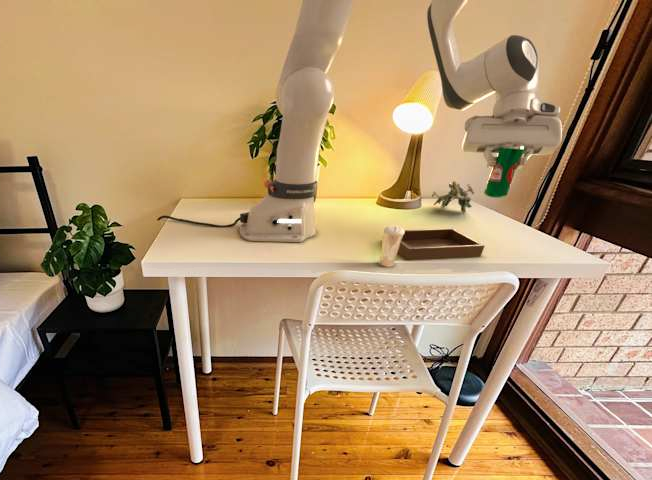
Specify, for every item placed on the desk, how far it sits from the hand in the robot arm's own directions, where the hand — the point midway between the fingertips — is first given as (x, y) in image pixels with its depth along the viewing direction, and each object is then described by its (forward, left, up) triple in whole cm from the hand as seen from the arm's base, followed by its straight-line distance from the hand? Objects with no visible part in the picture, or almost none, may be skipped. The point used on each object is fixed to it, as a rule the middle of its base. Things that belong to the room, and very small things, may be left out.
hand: (506, 166), depth 90 cm
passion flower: (+10, +30, -19) cm, 37 cm away
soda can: (0, +1, -7) cm, 7 cm away
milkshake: (-31, -11, -19) cm, 38 cm away
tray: (-15, -2, -19) cm, 25 cm away
